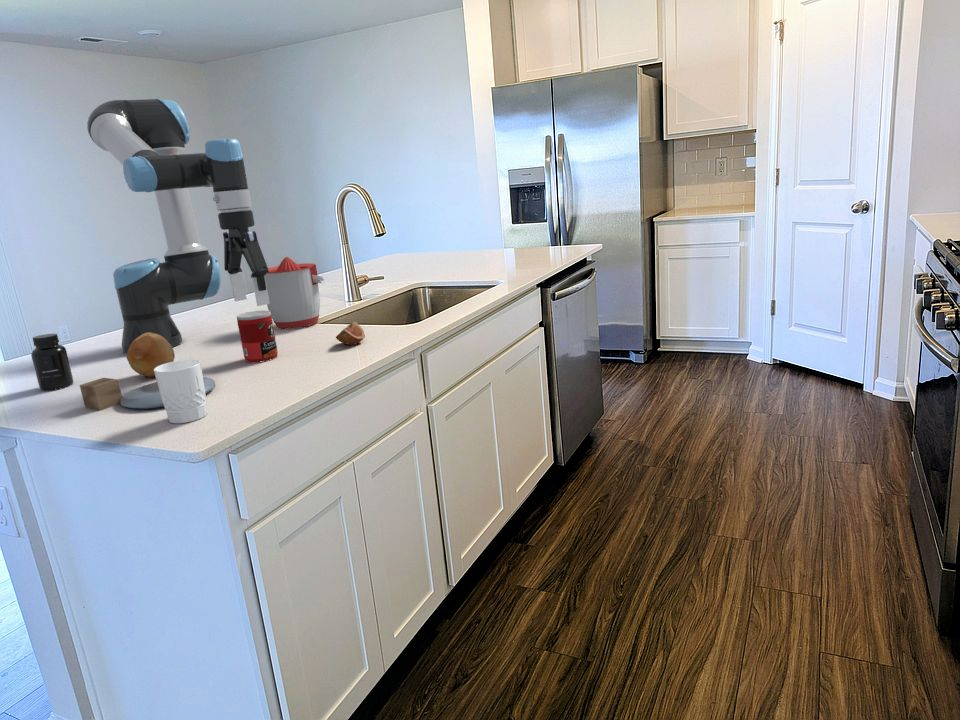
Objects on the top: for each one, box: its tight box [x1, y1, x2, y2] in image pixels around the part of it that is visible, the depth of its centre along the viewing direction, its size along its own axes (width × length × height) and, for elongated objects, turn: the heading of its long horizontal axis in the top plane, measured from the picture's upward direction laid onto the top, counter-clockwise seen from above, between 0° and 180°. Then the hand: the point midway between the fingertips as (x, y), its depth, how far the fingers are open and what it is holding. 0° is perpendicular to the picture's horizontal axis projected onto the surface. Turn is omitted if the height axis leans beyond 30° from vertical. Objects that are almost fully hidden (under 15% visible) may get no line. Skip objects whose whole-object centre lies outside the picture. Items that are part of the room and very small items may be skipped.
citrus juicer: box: [265, 256, 325, 330], centre depth 199 cm, size 16×17×20 cm
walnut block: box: [79, 377, 123, 411], centre depth 139 cm, size 5×5×5 cm
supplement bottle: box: [30, 333, 74, 391], centre depth 156 cm, size 7×7×12 cm
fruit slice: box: [335, 321, 366, 345], centre depth 171 cm, size 8×7×5 cm
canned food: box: [236, 310, 278, 363], centre depth 164 cm, size 8×8×11 cm
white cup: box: [154, 358, 208, 424], centre depth 126 cm, size 8×8×10 cm
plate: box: [120, 376, 216, 409], centre depth 142 cm, size 18×18×1 cm
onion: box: [126, 332, 175, 378], centre depth 158 cm, size 10×10×10 cm
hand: (251, 302), depth 162 cm, fingers open, 13 cm apart
